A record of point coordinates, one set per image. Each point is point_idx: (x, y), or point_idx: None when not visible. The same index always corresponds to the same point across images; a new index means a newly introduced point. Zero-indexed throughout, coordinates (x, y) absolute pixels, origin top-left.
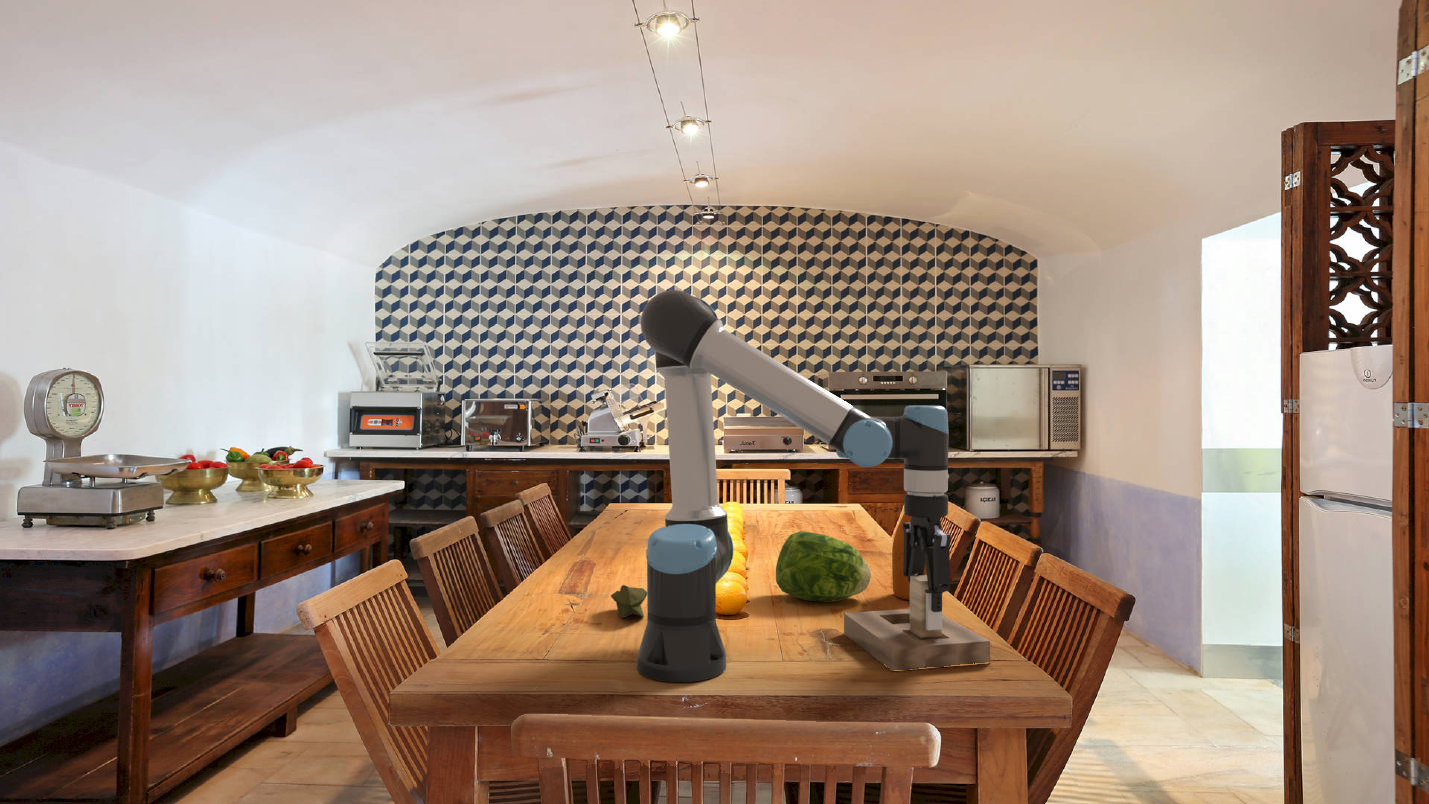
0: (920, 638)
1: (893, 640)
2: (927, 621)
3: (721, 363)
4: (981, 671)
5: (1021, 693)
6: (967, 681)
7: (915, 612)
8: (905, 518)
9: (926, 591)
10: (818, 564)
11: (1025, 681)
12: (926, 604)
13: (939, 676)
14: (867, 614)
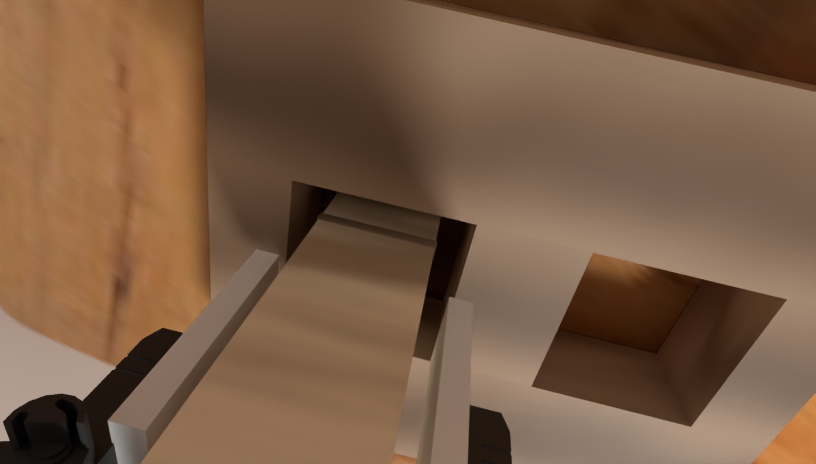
0: (318, 216)
1: (335, 61)
2: (238, 277)
3: None
4: (199, 283)
5: (9, 247)
6: (117, 181)
7: (341, 300)
8: None
9: (51, 409)
10: None
11: (101, 322)
12: (195, 349)
13: (178, 126)
14: None
